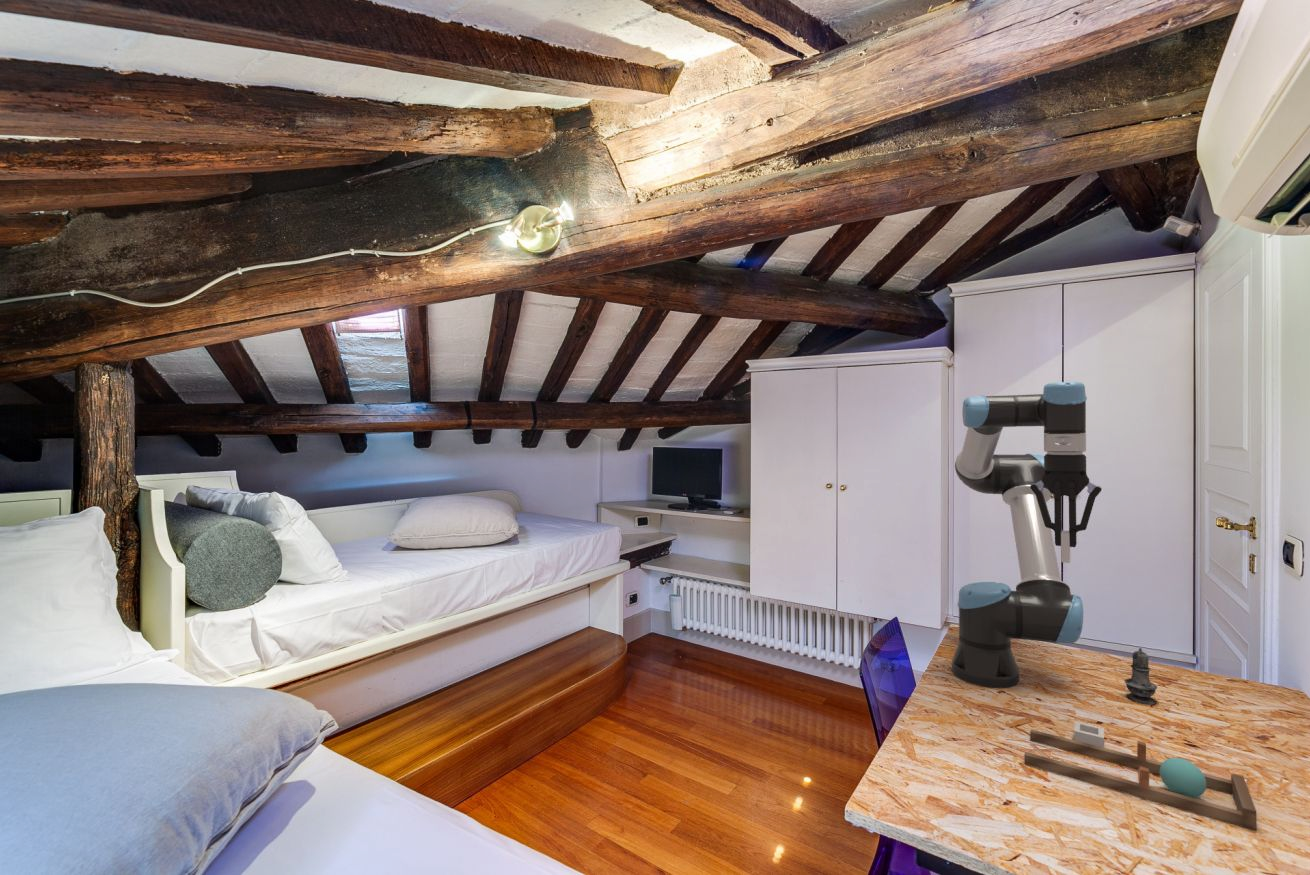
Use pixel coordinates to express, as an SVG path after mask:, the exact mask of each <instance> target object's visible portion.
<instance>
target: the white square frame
mask: <svg viewBox="0 0 1310 875" xmlns="http://www.w3.org/2000/svg"><path fill="white" fill-rule="evenodd" d="M1073 740H1075V741H1079V742H1083V743H1087V744H1090V745H1094V746H1098V747H1102V748H1105V727H1102V726H1098V725H1094V724H1093V725H1092V724H1088V723H1085V722H1080V721H1076V720H1075V721H1074V729H1073Z"/></svg>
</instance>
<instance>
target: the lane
mask: <svg viewBox="0 0 1310 875" xmlns="http://www.w3.org/2000/svg"><path fill="white" fill-rule="evenodd" d="M1029 741H1031V742H1033V743H1038V744H1042V745H1045V746H1049V747H1053V748H1057V749H1060V750H1061V749H1062V750H1065V751H1068V752H1072V753H1076V754H1078V755H1083V756H1087V757H1091V758H1095V759H1099V760H1102V761H1107V762H1110V763H1115V764H1117V765H1121V766H1125V767H1128V768H1132V769H1136V770H1137V775H1138V777H1137V778H1138V782H1136V781H1133V780H1130V779H1126V778H1123V777H1119V776H1114V775H1111V774H1109V773H1104V772H1101V771H1098V770H1093V769H1090V768H1086V767H1081V766H1078V765H1075V764H1072V763H1071V764H1070V763H1067V762H1063V761H1061V760H1057V759H1053V758H1050V757H1047V756H1043V755H1038V754H1034V753H1031V752H1028V751H1025V752H1024V755H1023V756H1024V760H1023V761H1024V762H1023V763H1024V765H1027V766H1031V767H1034V768H1037V769H1041V770H1045V771H1049V772H1052V773H1055V774H1059V775H1062V776H1066V777H1069V778H1071V779H1072V778H1073V779H1076V780H1080V781H1083V782H1087V783H1090V784H1094V785H1097V786H1100V787H1103V788H1107V789H1111V790H1114V791H1118V792H1122V793H1125V794H1129V795H1132V796H1134V797H1139V798H1142V799H1145V800H1149V801H1152V802H1156V803H1160V804H1164V805H1167V806H1170V807H1174V808H1177V809H1181V810H1185V811H1186V812H1187V811H1188V812H1191V813H1194V814H1198V815H1202V816H1205V817H1209V818H1211V819H1212V818H1213V819H1215V820H1219V821H1222V822H1225V823H1230V824H1232V825H1236V826H1239V827H1243V828H1247V829H1250V830H1253V831H1257V823H1258V822H1257V809H1256V806H1255V804H1254V800H1253V799H1252V798H1253V797H1252V795H1251V793H1250V790H1249V788H1248V785H1247V783H1246V780H1245V777H1244V775H1243V776H1242V775H1239V774H1236V773H1235V774H1234V773H1230V777H1231V778H1230V779H1228V778H1223V777H1220V776H1216V775H1212V774H1207V773H1204V772H1202V773H1203V775H1204V777H1205V779H1206V788H1208V789H1213V790H1215V791H1220V792H1222V793H1224V792H1225V793H1228V794H1231V795H1232V797H1233V800H1234V803H1235V805H1236V808H1237V809H1235V808H1231V807H1228V806H1224V805H1220V804H1217V803H1212V802H1208V801H1205V800H1202V799H1198V798H1191V797H1188V796H1184V795H1181V794H1177V793H1174V792H1172V791H1171V790H1167V789H1166V790H1165V789H1162V788H1158V787H1155V786H1150V773H1151V774H1155V775H1159V776H1160V766H1161V764H1162V763H1163V762H1161V761H1157V760H1152V759H1149V758H1147V744H1146V742H1145V741H1141V740H1137V741H1136V742H1137V743H1136V745H1137V749H1136V750H1137V751H1136V752H1137V754H1136V755H1133V754H1129V753H1127V752H1122V751H1116V750H1114V749H1110V748H1106V747H1104V748H1102V747H1098V746H1094V745H1090V744H1087V743H1083V742H1079V741H1075V740H1074V739H1070V738H1066V737H1062V736H1058V735H1054V734H1050V733H1046V732H1042V731H1038V730H1035V729H1030V731H1029Z"/></svg>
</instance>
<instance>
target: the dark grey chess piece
mask: <svg viewBox="0 0 1310 875" xmlns="http://www.w3.org/2000/svg"><path fill="white" fill-rule="evenodd" d="M1130 667H1131V670H1132V671H1131V677H1130V678H1125V679H1124V683H1125V685H1126V688H1127V690H1128V691H1129V693H1126V695H1125V697H1126V698H1127V699H1128V700H1130V701H1132V702H1134V703H1138V704H1143V705H1155V704H1156V699H1154V698H1153V697H1152V696H1154V694H1156V690H1157V689H1158V686H1157V685H1156V684H1154V683H1153V682H1151V681H1150V671H1151V668H1150V667H1149V655H1148V654H1147V653H1146V652H1144V651H1143V649H1142V648H1141V647H1139V648H1138V650H1136V651H1134V652H1132V664H1131V665H1130Z"/></svg>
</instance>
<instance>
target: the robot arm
mask: <svg viewBox="0 0 1310 875" xmlns="http://www.w3.org/2000/svg"><path fill="white" fill-rule="evenodd" d="M1042 391H1043V392H1042V393H1040V394H1039V393H1037V394H1035V393H1034V394H1017V395H1016V394H1015V395H1010V394H1009V395H986V396H985V395H979V396H970V397H966V398H965V399H964V400H963V401H962V414H961V415H962V423H963V425H964V427H966V428H967V431H966V435H965V438H964V442H963V447H962V450H961V452H960V453H959V454H958V455H957V456H956V458H955V461H954V462H955V463H954V470H955V473H956V476H957V477H958V478H959V480H960V481H961V482H962V483H963V484H964V485H965V486H967V487H968V488H969V489H971V490H973V491H975V492H978V493H981V494H985V495H986V494H987V495H988V494H990V495H1001V496H1002V497H1001V498H1002V501H1003V503H1004V504H1007V505H1008V506H1009V508H1010V514H1011V521H1012V528H1013V533H1014V542H1015V545H1016V546H1015V547H1016V552H1017V560H1018V566H1019V567H1018V568H1019V572H1020V579H1021V581H1020V582H1018V583H1017V584H1016V586H1015V590H1012V589H1011V587H1010V586H1009V585H1008V584H1006V583H1003V582H995V581H978V582H972V583H971V582H970V583H968V584H966V585H963V586H962V587H960V589H959V591H958V602H957V607H958V643H957V647H956V649H955V651H954V655H953V657H952V660H951V671H952V672H951V673H952V674H954V676H956V677H958V678H959V679H961V680H963V681H965V682H968V683H970V684H974V685H977V686H982V687H986V688H996V689H997V688H999V689H1000V688H1001V689H1002V688H1010V687H1014V686H1017V685H1018V684H1019V683H1020V670H1019V668H1018V665H1017V662H1016V659H1015V657H1014V653H1013V652H1012V639H1016V640H1017V639H1018V640H1025V641H1026V640H1027V641H1035V642H1044V643H1045V642H1047V643H1054V644H1075V643H1076V642H1077V641H1079V639H1080V637H1081V633H1082V631H1083V624H1084V606H1083V605H1084V604H1083V600H1082V599H1081V597H1080V596H1079V595H1078V594H1077V595H1076V594H1071V588H1070V585H1069V584H1067V583H1066V582H1064V581H1063V580H1061V573H1060V569H1059V564H1058V558H1057V554H1056V553H1057V552H1056V549H1055V546H1056V547H1060V549H1061V550H1060V557H1061V558H1060V560H1061V563H1068V564H1070V563H1071V548H1076V547H1077V543H1078V542H1077V533H1078V532H1082V531H1086V530H1087V528H1088V524H1089V521H1090V517H1091V514H1092V511H1093V507H1094V503H1095V502H1096V498H1097V496H1098V495H1099V494H1100V493H1101V492H1102V487H1101V486H1100V485H1096V484H1094V482H1091V481H1090V478H1089V477H1088V475H1087V455H1085V454H1084V453H1085V452H1086V451H1087V433H1086V432H1087V430H1086V429H1087V426H1086V423H1087V422H1086V420H1087V419H1086V418H1087V416H1086V415H1087V413H1086V412H1087V410H1086V409H1087V408H1086V407H1087V406H1086V405H1087V404H1086V402H1087V400H1088V399H1087V396H1086V395H1087V394H1086V386H1085V384H1084V383H1083V382H1081V381H1062V382H1052V383H1051V382H1049V383H1046V384H1045V385H1044V386H1043V390H1042ZM1009 427H1010V428H1013V427H1015V428H1017V427H1043V451H1044V452H1046V453H1045V454H1044V455H1042V454H1032V453H1025V454H995V451H996V449H997V446H998V443H999V439H1000V438H1001V434H1002V430H1003V429H1004V428H1009ZM1086 487H1087V490H1086V491H1087V493H1088V494H1089V495H1088V497H1087V500H1086V503H1085V506H1084V510H1083V513H1082V517H1081V520H1080V523H1079V524H1077V496H1079V495H1080V493H1081V492H1082V491H1083V490H1084V489H1085V488H1086ZM1052 495H1053V500H1054V516H1053V517H1054V518H1053V519H1054V520H1053V521H1054V522H1053V521H1052V519H1051V514H1050V512H1049V508H1048V506H1047V503H1048V502H1049V501H1050V499H1051V497H1052ZM1064 496H1065V497H1068V530H1062V529H1063V514H1062V513H1063V511H1062V510H1063V504H1062V503H1063V497H1064ZM1052 530H1053V532H1054V538H1053V534H1052Z"/></svg>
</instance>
